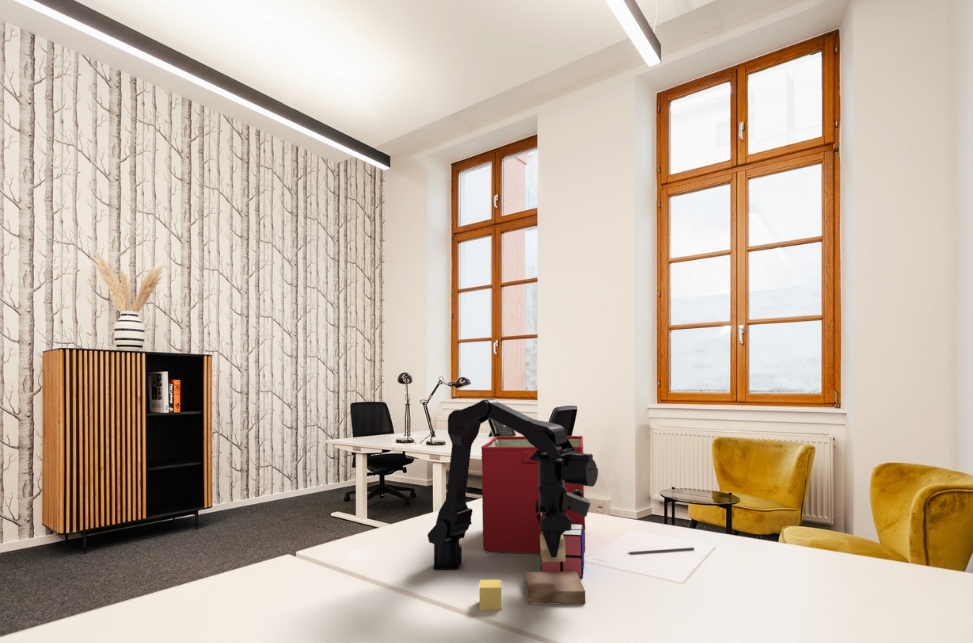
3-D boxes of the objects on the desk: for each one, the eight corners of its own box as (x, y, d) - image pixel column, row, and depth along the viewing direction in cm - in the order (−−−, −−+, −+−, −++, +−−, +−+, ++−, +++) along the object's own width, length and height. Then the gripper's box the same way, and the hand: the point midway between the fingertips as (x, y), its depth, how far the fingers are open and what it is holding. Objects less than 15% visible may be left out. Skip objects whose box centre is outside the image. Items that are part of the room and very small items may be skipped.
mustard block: (479, 610, 116) (479, 587, 116) (480, 601, 121) (479, 579, 121) (501, 610, 116) (501, 587, 116) (501, 601, 120) (500, 579, 121)
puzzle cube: (583, 578, 133) (582, 535, 134) (540, 576, 135) (540, 533, 136) (584, 564, 143) (583, 524, 144) (544, 562, 145) (544, 522, 146)
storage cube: (475, 553, 153) (474, 445, 156) (491, 526, 180) (490, 434, 183) (595, 558, 148) (592, 446, 151) (593, 530, 175) (590, 435, 178)
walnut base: (528, 604, 119) (528, 591, 119) (524, 583, 131) (524, 571, 131) (585, 603, 119) (585, 591, 119) (576, 582, 131) (576, 571, 131)
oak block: (542, 561, 123) (542, 540, 123) (540, 554, 128) (540, 533, 128) (565, 561, 123) (565, 540, 123) (562, 554, 128) (562, 533, 128)
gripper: (594, 490, 118) (596, 567, 116) (580, 474, 136) (581, 540, 135) (541, 490, 118) (542, 567, 116) (534, 474, 136) (535, 541, 135)
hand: (552, 553), depth 126 cm, fingers closed on oak block, 5 cm apart
